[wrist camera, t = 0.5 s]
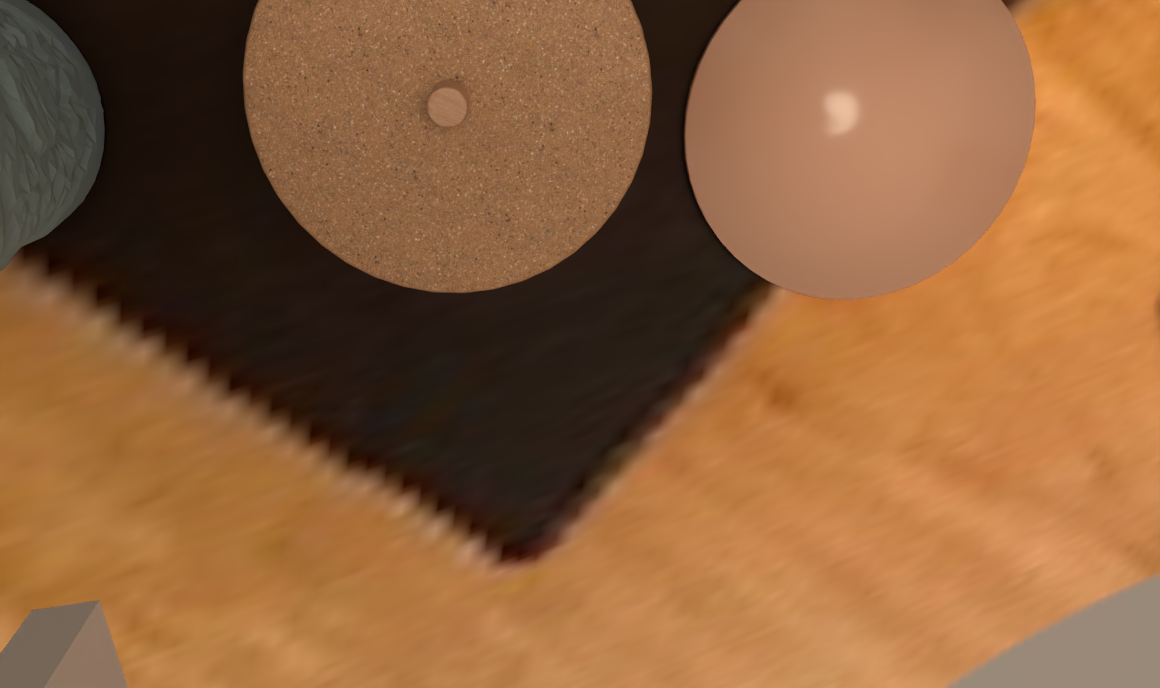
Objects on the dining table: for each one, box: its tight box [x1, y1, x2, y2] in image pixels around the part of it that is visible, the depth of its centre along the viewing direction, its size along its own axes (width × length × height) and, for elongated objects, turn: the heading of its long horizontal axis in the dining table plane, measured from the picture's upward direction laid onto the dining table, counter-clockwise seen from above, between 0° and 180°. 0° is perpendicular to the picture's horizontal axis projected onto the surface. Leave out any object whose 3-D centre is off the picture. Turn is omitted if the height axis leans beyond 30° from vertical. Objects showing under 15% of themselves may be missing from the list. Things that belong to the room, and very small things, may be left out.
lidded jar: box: [243, 0, 652, 293], centre depth 31 cm, size 11×11×9 cm
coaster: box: [683, 0, 1036, 299], centre depth 37 cm, size 12×12×1 cm
